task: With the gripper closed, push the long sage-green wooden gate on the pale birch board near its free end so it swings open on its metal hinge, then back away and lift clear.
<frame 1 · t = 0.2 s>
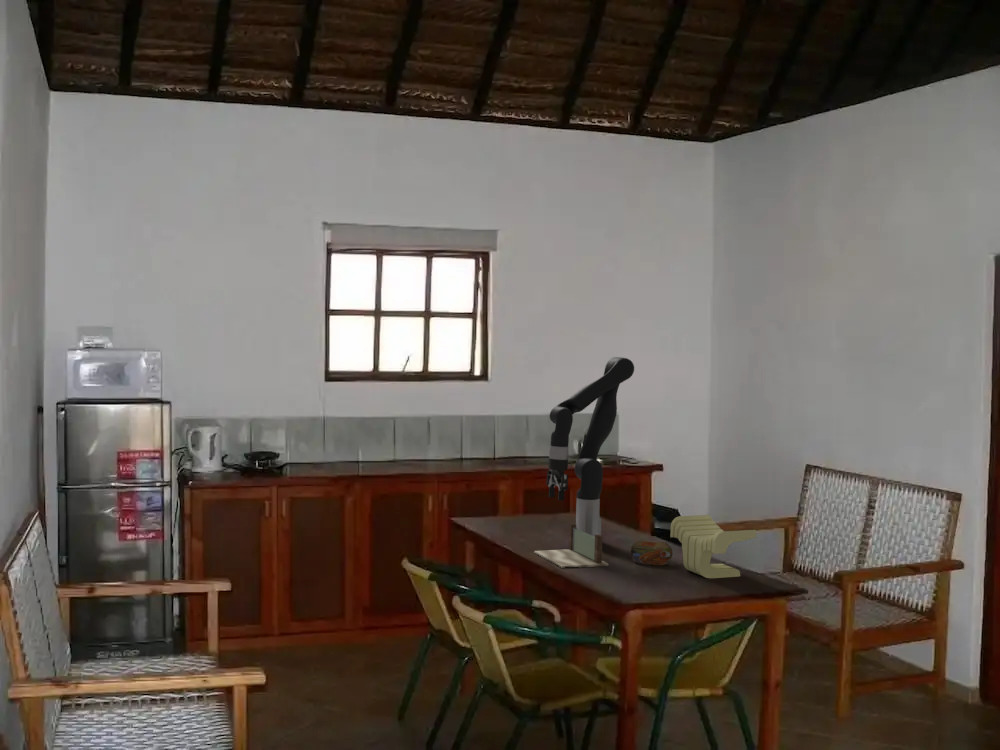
hand: (556, 498, 430), 18 cm above the table, tool pointing down, fingers open, 8 cm apart
gate: (585, 543, 404), point 5 cm above the table, hinge at 0.0°
tin: (651, 564, 397), on the table
pale yellow c-shaped piece: (710, 574, 383), on the table
gate frame: (570, 559, 401), on the table
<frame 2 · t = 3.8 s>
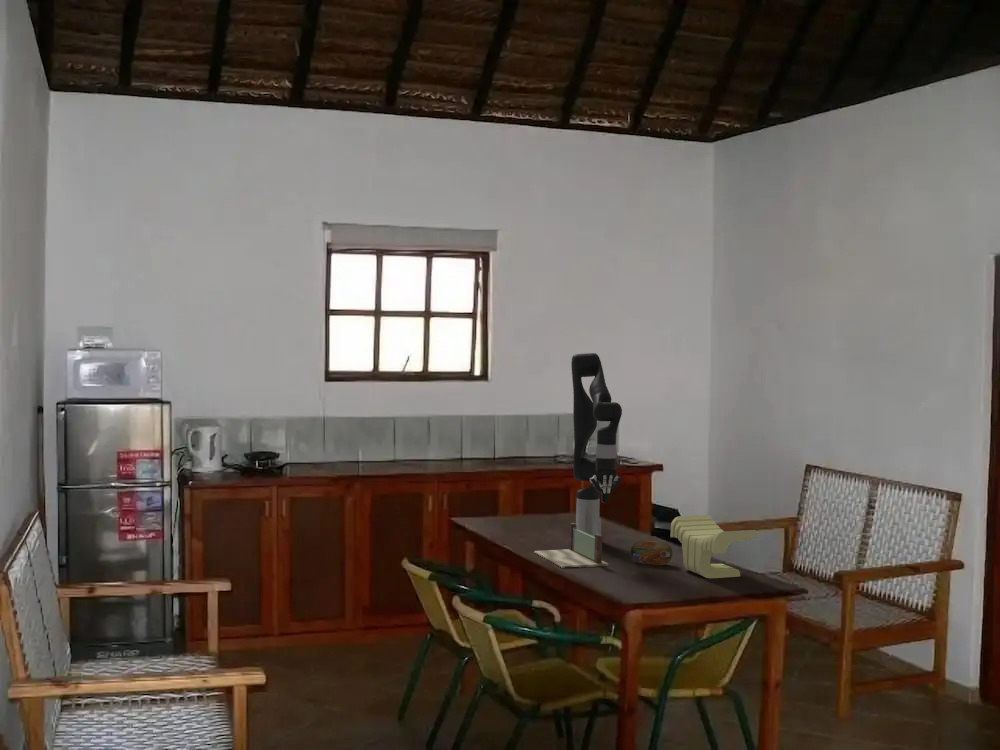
hand: (604, 503, 404), 20 cm above the table, tool pointing down, fingers closed
nothing on the table moved.
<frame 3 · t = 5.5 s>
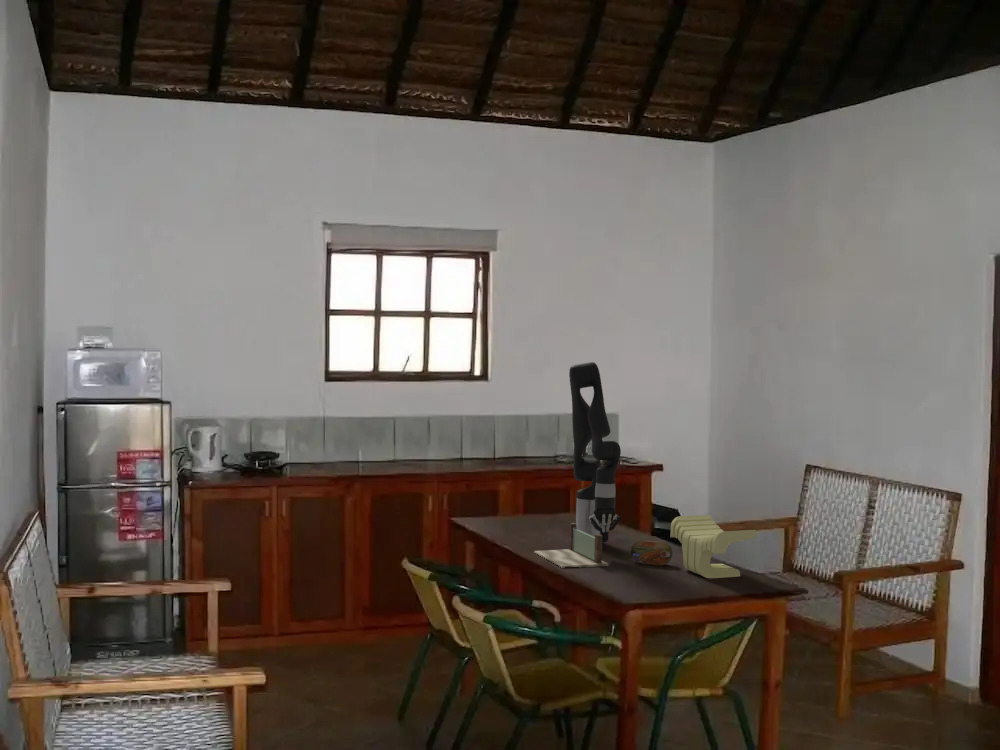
hand: (603, 541, 404), 6 cm above the table, tool pointing down, fingers closed
nothing on the table moved.
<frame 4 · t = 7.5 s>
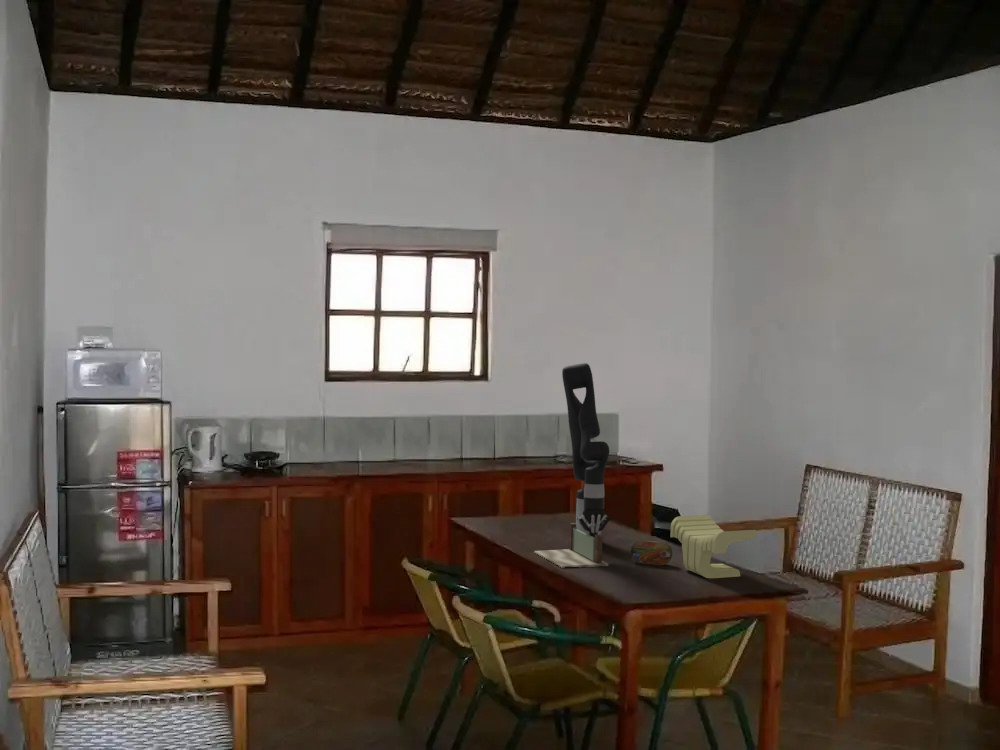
hand: (593, 542, 403), 6 cm above the table, tool pointing down, fingers closed
gate: (584, 543, 403), point 5 cm above the table, hinge at 2.2°, touching gripper
everything else where it was.
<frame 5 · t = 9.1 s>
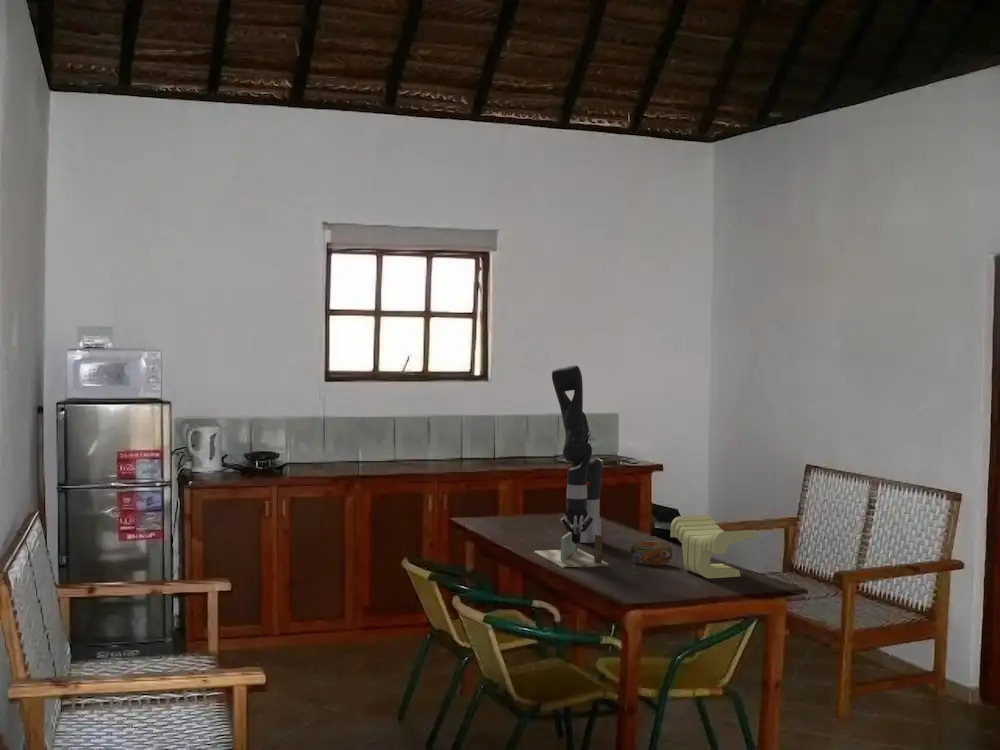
hand: (575, 543, 401), 6 cm above the table, tool pointing down, fingers closed
gate: (569, 543, 403), point 5 cm above the table, hinge at 36.2°, touching gripper
everything else where it was.
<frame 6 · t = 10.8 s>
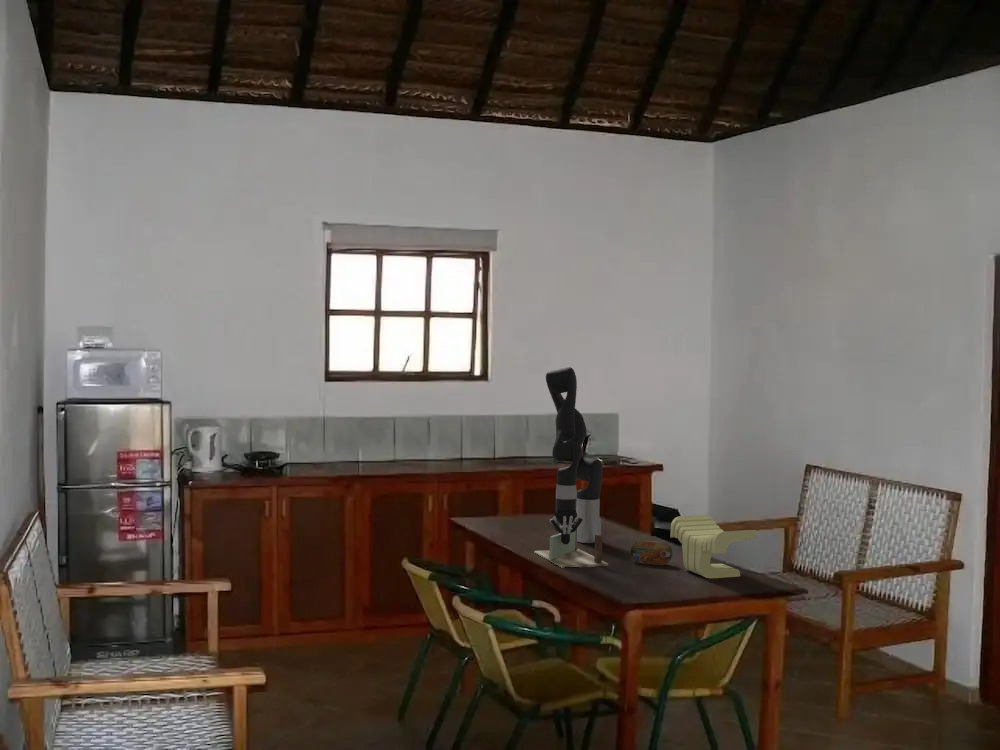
hand: (565, 543, 399), 6 cm above the table, tool pointing down, fingers closed
gate: (563, 542, 404), point 5 cm above the table, hinge at 49.0°, touching gripper
everything else where it was.
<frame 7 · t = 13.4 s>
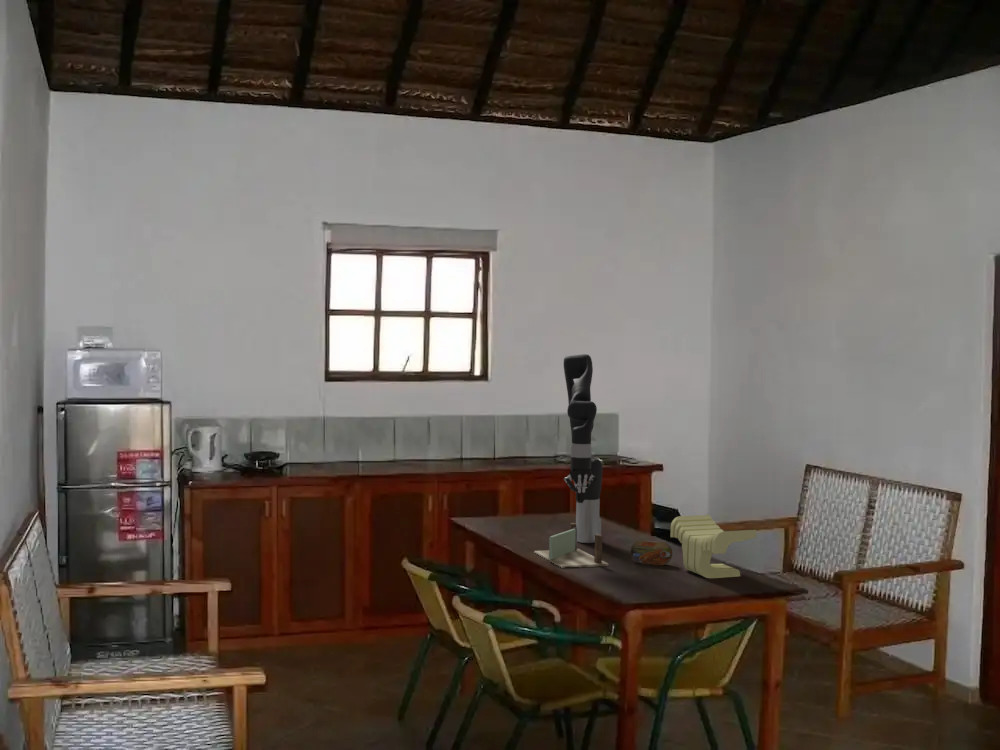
hand: (579, 502, 401), 21 cm above the table, tool pointing down, fingers closed
gate: (563, 542, 404), point 5 cm above the table, hinge at 49.4°
everything else where it was.
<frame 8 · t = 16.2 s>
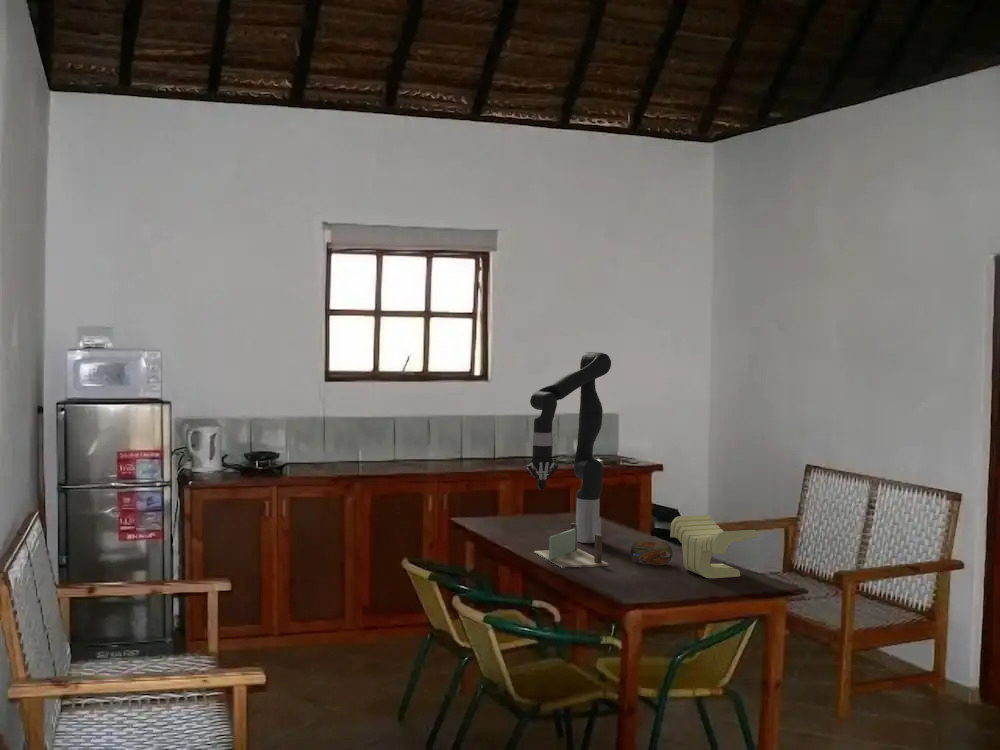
hand: (541, 489, 418), 23 cm above the table, tool pointing down, fingers closed
nothing on the table moved.
at the end: gate at +49° (first picture: +0°); tin moved 0.3 cm from its start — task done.
